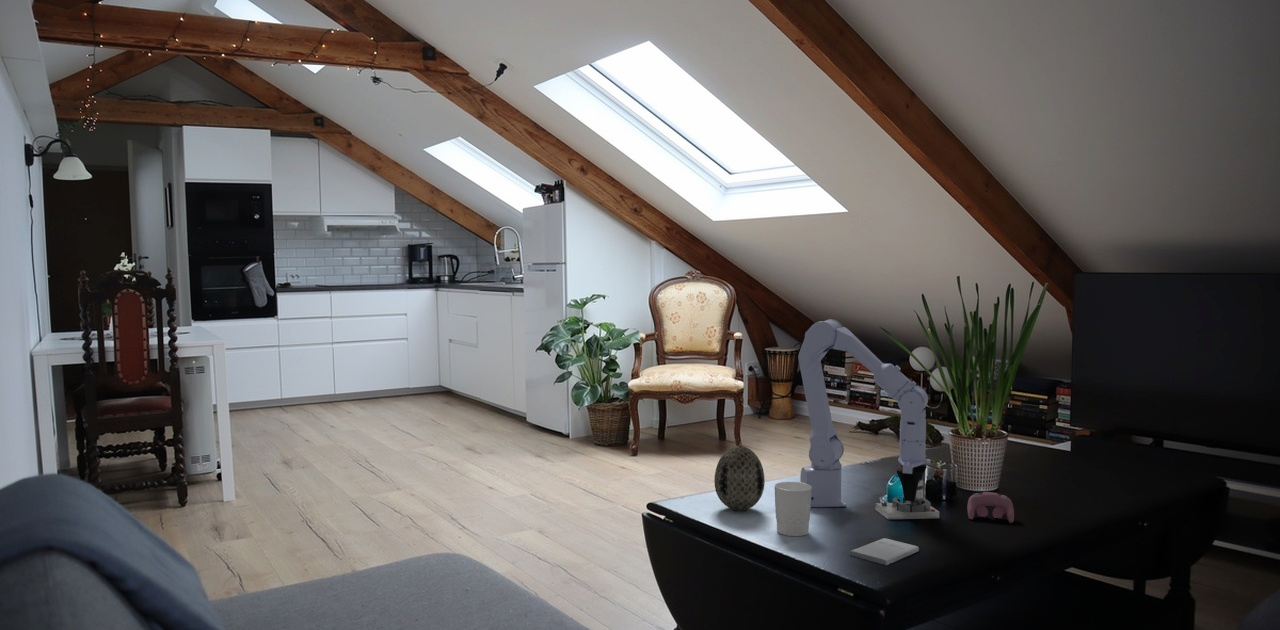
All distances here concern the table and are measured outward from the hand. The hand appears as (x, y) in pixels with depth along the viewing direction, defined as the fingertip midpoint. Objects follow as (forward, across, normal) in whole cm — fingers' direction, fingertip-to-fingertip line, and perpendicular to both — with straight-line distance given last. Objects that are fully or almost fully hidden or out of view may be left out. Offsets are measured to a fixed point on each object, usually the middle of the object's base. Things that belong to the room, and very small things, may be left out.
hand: (911, 498), depth 206 cm
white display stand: (+4, 0, +1) cm, 4 cm away
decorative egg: (+4, -14, +37) cm, 40 cm away
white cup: (+4, -26, +21) cm, 33 cm away
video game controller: (+4, +4, -17) cm, 18 cm away
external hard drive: (+4, -31, +1) cm, 32 cm away
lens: (+2, 0, 0) cm, 2 cm away
